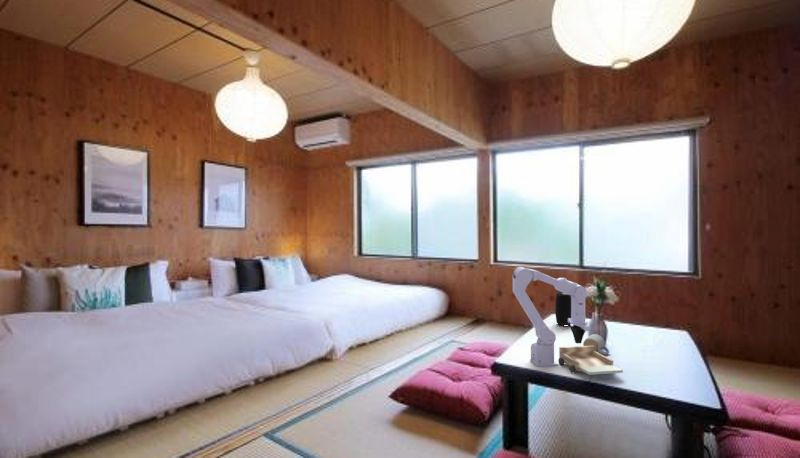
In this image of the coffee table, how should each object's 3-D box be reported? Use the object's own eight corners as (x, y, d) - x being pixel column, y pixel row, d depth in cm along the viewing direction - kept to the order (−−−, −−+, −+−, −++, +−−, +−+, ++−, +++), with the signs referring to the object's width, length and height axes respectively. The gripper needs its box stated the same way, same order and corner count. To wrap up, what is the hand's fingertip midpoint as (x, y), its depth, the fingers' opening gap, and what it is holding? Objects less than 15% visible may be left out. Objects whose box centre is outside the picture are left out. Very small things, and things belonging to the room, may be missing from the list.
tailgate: (580, 369, 164) (588, 374, 158) (580, 367, 164) (588, 372, 158) (612, 367, 166) (622, 372, 160) (612, 365, 166) (622, 370, 160)
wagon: (574, 375, 165) (574, 357, 165) (557, 363, 179) (557, 347, 179) (615, 372, 167) (615, 355, 167) (595, 361, 181) (595, 345, 181)
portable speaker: (557, 322, 250) (557, 290, 250) (573, 324, 245) (573, 292, 245) (553, 325, 243) (553, 292, 243) (570, 327, 238) (570, 294, 238)
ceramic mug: (582, 351, 194) (582, 335, 194) (588, 347, 200) (588, 332, 200) (605, 357, 187) (606, 340, 186) (611, 353, 192) (611, 337, 192)
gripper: (596, 315, 171) (596, 347, 172) (578, 308, 186) (578, 337, 186) (580, 316, 171) (580, 348, 171) (563, 308, 185) (563, 338, 185)
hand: (578, 342), depth 178 cm, fingers closed
